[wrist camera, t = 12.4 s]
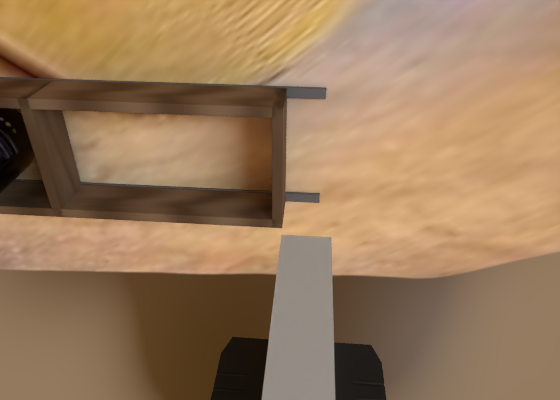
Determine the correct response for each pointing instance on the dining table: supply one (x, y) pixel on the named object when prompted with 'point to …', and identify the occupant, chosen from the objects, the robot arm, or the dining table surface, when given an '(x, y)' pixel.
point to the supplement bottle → (13, 147)
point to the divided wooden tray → (134, 200)
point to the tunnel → (291, 91)
